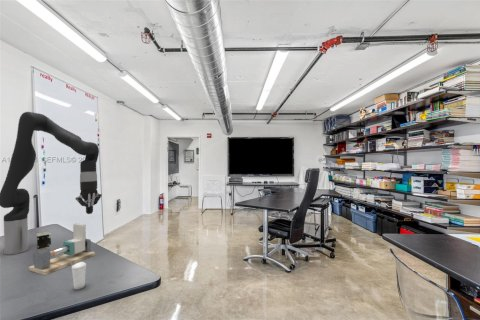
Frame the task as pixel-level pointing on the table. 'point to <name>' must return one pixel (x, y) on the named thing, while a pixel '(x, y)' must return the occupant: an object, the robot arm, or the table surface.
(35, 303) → the table surface
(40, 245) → the pneumatic valve
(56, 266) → the pipe stand
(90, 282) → the table surface
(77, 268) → the milkshake
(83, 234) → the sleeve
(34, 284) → the table surface
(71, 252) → the thin teal tile
